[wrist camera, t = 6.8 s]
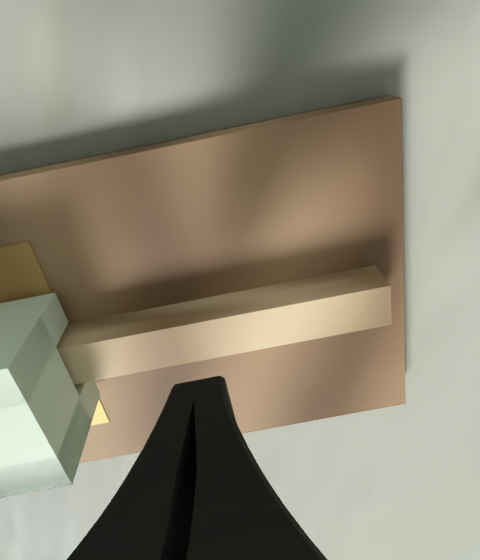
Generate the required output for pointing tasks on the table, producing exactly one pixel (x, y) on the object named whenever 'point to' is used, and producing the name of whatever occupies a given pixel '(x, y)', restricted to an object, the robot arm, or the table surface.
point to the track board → (223, 269)
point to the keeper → (39, 399)
